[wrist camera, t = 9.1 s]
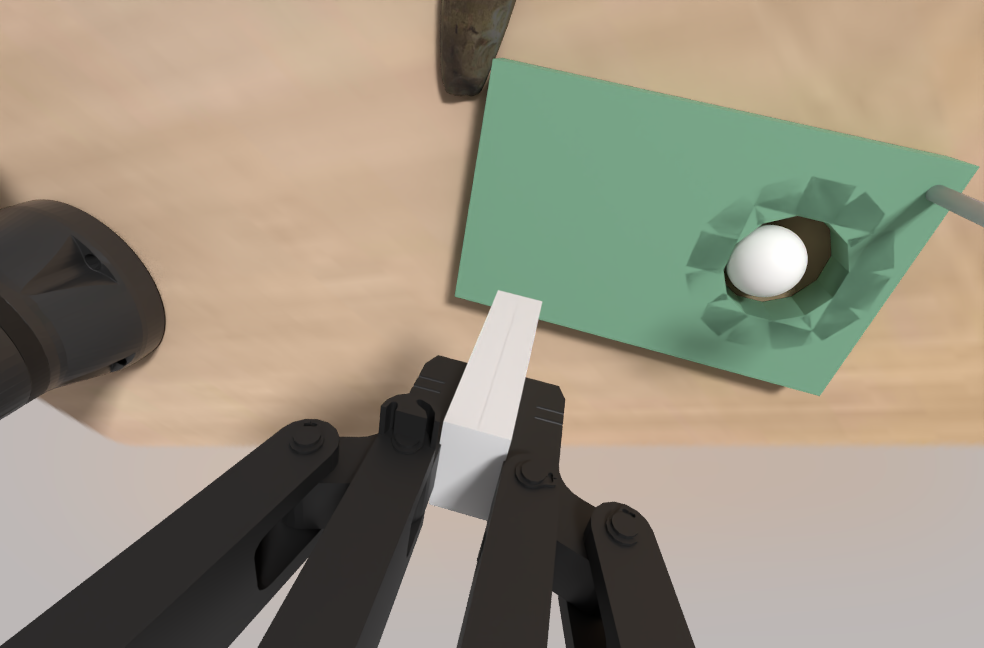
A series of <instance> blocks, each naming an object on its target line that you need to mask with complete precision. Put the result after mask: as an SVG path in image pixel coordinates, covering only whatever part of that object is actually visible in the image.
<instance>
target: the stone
mask: <svg viewBox="0 0 984 648" xmlns="http://www.w3.org/2000/svg"><path fill="white" fill-rule="evenodd" d="M515 2H516V0H442V5H441V32H440V58H441V75H442V81H443V84H444V87H445V90H446V92H447V93H449V94H453V95H457V96H464V95H468V96H474V95H476V94H478V93H480V91H481V90H482V88H483V86H484V84H485V82H486V79H487V77H488V75H489V72H490V70H491V68H492V61H493V59H495V57H496V55H497V52H498V50H499V47H500V45H501V42H502V39H503V37H504V34H505V31H506V29H507V26H508V23H509V20H510V17H511V14H512V11H513V8H514V5H515Z"/></svg>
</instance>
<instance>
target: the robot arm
mask: <svg viewBox="0 0 984 648" xmlns="http://www.w3.org/2000/svg"><path fill="white" fill-rule="evenodd" d="M541 306H542V301H539V300H535V299H531V298H527V297H523V296H519V295H515V294H511V293H507V292H503V291H500V290H498V292H497V294H496V296H495V299H494V301H493V304H492V306H491V308H490V311H489V313H488V316H487V318H486V320H485V323H484V325H483V328H482V330H481V332H480V335H479V337H478V340H477V342H476V344H475V347H474V349H473V352H472V354H471V356H470V359H469V361H468V363H465V362H462V361H458V360H454V359H450V358H447V357H443V356H439V355H438V356H436V357H435V358H433V359H432V360H430V361H429V362H427V363H426V364H425V365H424V367H423V369H422V371H421V373H420V375H419V377H418V378H417V380H416V382H415V384H414V387H412V389H411V391H410V393H409V394H401V395H396V396H394V397H392V398H389V399H387V400H386V401H385V402H384V403H383V404H382V405H381V411H380V423H379V433H378V434H376V435H372V436H368V437H339V435H338V432H337V430H336V428H334V427H333V426H332V425H331V424H329V423H328V422H324V421H321V420H318V419H304V420H300V421H296V422H292V423H291V424H289V425H287V426H285V427H283V428H282V429H281V430H279V431H278V432H277V433H276V434H274V435H273V436H272V437H270V438H269V439H268V440H266V441H265V442H264V443H263V444H261V445H260V446H259V447H257V448H256V449H255V450H253V451H252V452H251V453H250V454H248V455H247V456H246V457H244V458H243V459H242V460H241V461H239V462H238V463H237V464H235V465H234V466H233V467H232V468H230V469H229V470H228V471H226V472H225V473H224V474H223V475H221V476H220V477H219V478H217V479H216V480H215V481H213V482H212V483H211V484H210V485H208V486H207V487H206V488H204V489H203V490H202V491H201V492H199V493H198V494H197V495H195V496H194V497H193V498H191V499H190V500H189V501H187V502H186V503H185V504H184V505H182V506H181V507H180V508H179V509H177V510H176V511H175V512H173V513H172V514H171V515H169V516H168V517H167V518H165V519H164V520H163V521H162V522H160V523H159V524H158V525H156V526H155V527H154V528H153V529H151V530H150V531H149V532H147V533H146V534H145V535H143V536H142V537H141V538H140V539H138V540H137V541H136V542H134V543H133V544H132V545H131V546H129V547H128V548H127V549H126V550H124V551H123V552H121V553H120V554H119V555H118V556H116V557H115V558H114V559H112V560H111V561H110V562H109V563H107V564H106V565H105V566H103V567H102V568H101V569H99V570H98V571H97V572H96V573H94V574H93V575H92V576H91V577H89V578H88V579H87V580H85V581H84V582H83V583H81V584H80V585H79V586H77V587H76V588H75V589H74V590H72V591H71V592H70V593H68V594H67V595H66V596H65V597H63V598H62V599H61V600H59V601H58V602H57V603H56V604H54V605H53V606H52V607H50V608H49V609H48V610H46V611H45V612H44V613H42V614H41V615H40V616H39V617H37V618H36V619H35V620H33V621H32V622H31V623H30V624H28V625H27V626H26V627H24V628H23V629H22V630H21V631H19V632H18V633H17V634H15V635H14V636H13V637H11V638H10V639H9V640H8V641H6V642H5V643H4V644H2V645H1V646H0V648H228V647H229V645H231V643H232V642H233V641H234V640H235V639H236V638H237V637H238V635H240V633H241V632H242V631H243V630H244V629H245V627H247V626H248V624H249V623H250V622H251V621H252V620H253V619H254V617H256V615H257V614H258V613H259V612H260V611H261V610H262V609H263V607H264V606H265V605H266V604H267V603H268V602H269V601H270V600H271V599H272V597H273V596H274V595H275V594H276V593H277V592H278V591H279V590H280V588H281V587H282V586H283V585H284V584H285V583H286V582H287V581H288V580H289V578H290V577H291V576H292V575H293V574H294V573H295V572H296V571H297V569H298V568H299V567H300V566H301V565H302V564H303V563H304V562H305V561H306V559H307V558H308V557H309V558H308V559H307V561H306V563H305V565H304V567H303V568H302V570H301V572H300V574H299V575H298V577H297V579H296V581H295V583H294V584H293V586H292V588H291V589H290V591H289V593H288V595H287V596H286V599H285V600H284V602H283V604H282V605H281V607H280V609H279V611H278V612H277V614H276V616H275V618H274V619H273V621H272V623H271V625H270V627H269V628H268V630H267V632H266V634H265V636H264V637H263V639H262V641H261V642H260V644H259V646H258V648H377V647H378V645H379V642H380V639H381V636H382V634H383V631H384V628H385V625H386V622H387V620H388V617H389V614H390V612H391V609H392V606H393V604H394V601H395V598H396V595H397V593H398V590H399V587H400V584H401V582H402V579H403V576H404V574H405V571H406V568H407V565H408V563H409V560H410V557H411V555H412V552H413V549H414V546H415V544H416V541H417V538H418V535H419V533H420V530H421V527H422V525H423V519H424V513H425V509H426V506H427V504H428V501H429V498H430V501H429V504H431V505H434V506H438V507H442V508H445V509H448V510H452V511H456V512H459V513H462V514H466V515H469V516H473V517H476V518H479V519H483V520H486V521H487V526H486V529H485V533H484V537H483V540H482V544H481V547H480V551H479V554H478V558H477V565H476V569H475V573H474V577H473V582H472V586H471V590H470V594H469V598H468V602H467V607H466V611H465V615H464V619H463V623H462V628H461V632H460V636H459V640H458V645H457V648H547V641H548V630H549V619H550V608H551V596H552V591H553V592H554V593H556V594H557V595H558V600H559V606H560V612H561V619H562V625H563V631H564V638H565V644H566V648H695V645H694V643H693V640H692V637H691V634H690V631H689V629H688V626H687V623H686V620H685V618H684V615H683V612H682V610H681V607H680V604H679V601H678V598H677V596H676V594H675V590H674V587H673V585H672V582H671V579H670V576H669V574H668V571H667V568H666V565H665V563H664V560H663V557H662V554H661V552H660V549H659V546H658V544H657V541H656V538H655V535H654V532H653V530H652V529H651V527H650V525H649V523H648V522H647V520H646V519H645V518H644V517H643V516H642V515H641V514H640V513H639V512H638V511H636V510H634V509H632V508H631V507H629V506H627V505H625V504H621V503H617V502H607V503H602V504H601V505H599V506H597V507H594V506H592V505H591V504H589V503H587V502H586V501H584V500H582V499H581V498H579V497H578V496H576V495H575V494H573V493H572V492H571V491H570V489H569V488H568V487H566V485H565V483H564V482H563V480H562V478H561V476H560V473H559V458H560V448H561V438H562V427H563V426H562V425H563V417H564V415H563V414H564V407H565V398H564V396H563V394H562V392H561V390H560V387H559V386H556V385H552V384H549V383H545V382H541V381H537V380H534V379H530V378H526V373H527V368H528V364H529V359H530V355H531V350H532V346H533V341H534V337H535V332H536V328H537V323H538V319H539V315H540V310H541ZM164 325H165V319H164V311H163V306H162V302H161V299H160V296H159V293H158V291H157V288H156V286H155V284H154V282H153V280H152V278H151V276H150V275H149V273H148V271H147V270H146V268H145V267H144V265H143V264H142V262H141V261H140V260H139V258H138V257H137V256H136V255H135V253H134V252H133V251H132V250H131V249H130V248H129V246H128V245H127V244H126V243H125V242H124V241H123V240H122V239H121V238H120V237H119V236H118V235H116V234H115V233H114V232H113V231H112V230H111V229H109V228H108V227H107V226H106V225H104V224H103V223H102V222H100V221H99V220H97V219H96V218H94V217H93V216H91V215H89V214H88V213H86V212H84V211H82V210H80V209H78V208H76V207H73V206H71V205H68V204H65V203H62V202H58V201H53V200H32V201H28V202H24V203H21V204H17V205H13V206H9V207H5V208H3V209H0V420H1V419H2V418H4V417H5V416H7V415H9V414H10V413H12V412H14V411H16V410H17V409H19V408H20V407H22V406H23V405H25V404H27V403H28V402H30V401H32V400H33V399H35V398H37V397H38V396H40V395H42V394H44V393H45V392H47V391H49V390H51V389H54V388H58V387H61V386H65V385H68V384H72V383H75V382H79V381H82V380H86V379H90V378H93V377H97V376H100V375H103V374H107V373H110V372H114V371H118V370H121V369H124V368H126V367H128V366H130V365H132V364H134V363H135V362H137V361H139V360H140V359H142V358H143V357H145V356H146V355H148V354H149V353H151V352H152V351H153V350H154V349H155V348H156V347H157V346H158V345H159V343H160V341H161V339H162V336H163V332H164Z"/></svg>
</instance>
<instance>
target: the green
mask: <svg viewBox="0 0 984 648" xmlns="http://www.w3.org/2000/svg"><path fill="white" fill-rule="evenodd" d="M978 168H979V166H976V165H973V164H970V163H967V162H963V161H960V160H957V159H954V158H951V157H948V156H943V155H939V154H934V153H930V152H925V151H921V150H916V149H912V148H907V147H903V146H898V145H894V144H889V143H884V142H880V141H875V140H871V139H866V138H862V137H857V136H853V135H848V134H844V133H839V132H835V131H830V130H826V129H821V128H817V127H812V126H808V125H803V124H799V123H794V122H790V121H785V120H781V119H776V118H771V117H767V116H762V115H758V114H753V113H749V112H744V111H740V110H735V109H731V108H726V107H722V106H717V105H713V104H708V103H704V102H699V101H695V100H690V99H686V98H681V97H677V96H672V95H667V94H663V93H658V92H654V91H649V90H645V89H640V88H636V87H631V86H627V85H622V84H618V83H613V82H609V81H604V80H600V79H595V78H591V77H586V76H582V75H577V74H573V73H568V72H563V71H559V70H554V69H550V68H545V67H541V66H536V65H532V64H527V63H523V62H518V61H514V60H509V59H505V58H497V59H493V61H492V68H491V74H490V80H489V86H488V92H487V99H486V105H485V111H484V117H483V123H482V130H481V136H480V142H479V148H478V155H477V161H476V167H475V173H474V179H473V186H472V192H471V198H470V204H469V210H468V217H467V223H466V229H465V235H464V241H463V248H462V254H461V260H460V266H459V273H458V279H457V285H456V291H455V297H458V298H462V299H466V300H469V301H473V302H477V303H480V304H484V305H488V306H492V304H493V301H494V299H495V296H496V294H497V292H498V290H500V291H503V292H507V293H511V294H515V295H519V296H523V297H527V298H531V299H535V300H539V301H542V306H541V310H540V315H539V320H543V321H546V322H550V323H554V324H557V325H561V326H565V327H568V328H572V329H576V330H579V331H583V332H587V333H590V334H594V335H598V336H601V337H605V338H609V339H612V340H616V341H620V342H623V343H627V344H631V345H634V346H638V347H642V348H645V349H649V350H653V351H656V352H660V353H664V354H667V355H671V356H675V357H678V358H682V359H686V360H689V361H693V362H697V363H700V364H704V365H708V366H711V367H715V368H719V369H722V370H726V371H730V372H733V373H737V374H741V375H744V376H748V377H752V378H755V379H759V380H763V381H766V382H770V383H774V384H777V385H781V386H785V387H788V388H792V389H796V390H799V391H803V392H807V393H810V394H814V395H818V396H820V395H821V393H822V392H823V390H824V389H825V388H826V386H827V385H828V383H829V382H830V380H831V379H832V378H833V376H834V375H835V373H836V372H837V370H838V369H839V368H840V366H841V365H842V363H843V362H844V360H845V359H846V358H847V356H848V355H849V353H850V352H851V350H852V349H853V347H854V346H855V345H856V343H857V342H858V340H859V339H860V337H861V336H862V335H863V333H864V332H865V330H866V329H867V327H868V326H869V325H870V323H871V322H872V320H873V319H874V317H875V316H876V315H877V313H878V312H879V310H880V309H881V307H882V306H883V304H884V303H885V302H886V300H887V299H888V297H889V296H890V294H891V293H892V292H893V290H894V289H895V287H896V286H897V284H898V283H899V282H900V280H901V279H902V277H903V276H904V274H905V273H906V272H907V270H908V269H909V267H910V266H911V264H912V263H913V261H914V260H915V259H916V257H917V256H918V254H919V253H920V251H921V250H922V249H923V247H924V246H925V244H926V243H927V241H928V240H929V239H930V237H931V236H932V234H933V233H934V231H935V230H936V229H937V227H938V226H939V224H940V223H941V221H942V220H943V218H944V217H945V216H946V214H947V213H948V211H951V212H953V213H956V214H958V215H960V216H962V217H964V218H966V219H968V220H970V221H972V222H974V223H976V224H978V225H980V226H982V227H984V202H981V201H979V200H977V199H974V198H972V197H969V196H967V195H965V194H962V191H963V190H964V188H965V187H966V186H967V184H968V183H969V181H970V180H971V178H972V177H973V175H974V174H975V173H976V171H977V170H978ZM794 216H801V217H805V218H809V219H813V220H817V221H821V222H824V223H825V224H826V225H827V226H828V227H829V229H830V236H831V257H830V259H829V260H828V262H827V264H826V265H825V267H824V269H823V270H822V272H821V274H820V275H819V277H818V279H817V280H816V281H814V282H813V283H811V284H810V285H808V286H807V287H805V288H804V289H802V290H801V291H799V292H798V293H796V294H795V295H793V296H791V297H786V298H781V299H775V300H770V301H765V302H760V301H757V300H753V299H749V298H745V297H741V296H737V295H735V294H734V293H733V292H732V291H731V290H730V288H729V287H728V286H727V285H726V284H725V278H724V271H723V270H724V268H725V266H726V264H727V262H728V260H729V258H730V256H731V253H732V251H733V249H734V247H735V245H736V244H737V243H738V242H739V241H741V240H742V239H743V238H745V237H746V236H747V235H749V234H750V233H751V232H753V231H754V230H755V229H757V228H758V227H759V226H760V225H762V224H764V223H768V222H772V221H777V220H781V219H785V218H790V217H794Z"/></svg>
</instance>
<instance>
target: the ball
mask: <svg viewBox="0 0 984 648" xmlns="http://www.w3.org/2000/svg"><path fill="white" fill-rule="evenodd" d="M807 262H808V255H807V250H806V248H805V245H804V243H803V242H802V240H801V239H800V238H799V237H798V236H797V235H796V234H795V233H794V232H792V231H791V230H789V229H787V228H784V227H781V226H777V225H761V226H759V227H758V228H757V229H755V230H754V231H753V232H751V233H750V234H749V235H747V236H746V237H745V238H743V239H742V240H741V241H739V242H738V243H737V244H736V245H735V247H734V249H733V251H732V253H731V256H730V258H729V260H728V262H727V264H726V272H727V275H728V277H729V279H730V280H731V282H732V283H733V284H734V285H735V286H736V287H737V288H738V289H739V290H741V291H742V292H744V293H746V294H749V295H752V296H756V297H772V296H776V295H780V294H782V293H785V292H786V291H788V290H790V289H791V288H793V287H794V286H795V285H796V284H797V283H798V282H799V281H800V279H801V278H802V276H803V275H804V273H805V270H806V267H807Z"/></svg>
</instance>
